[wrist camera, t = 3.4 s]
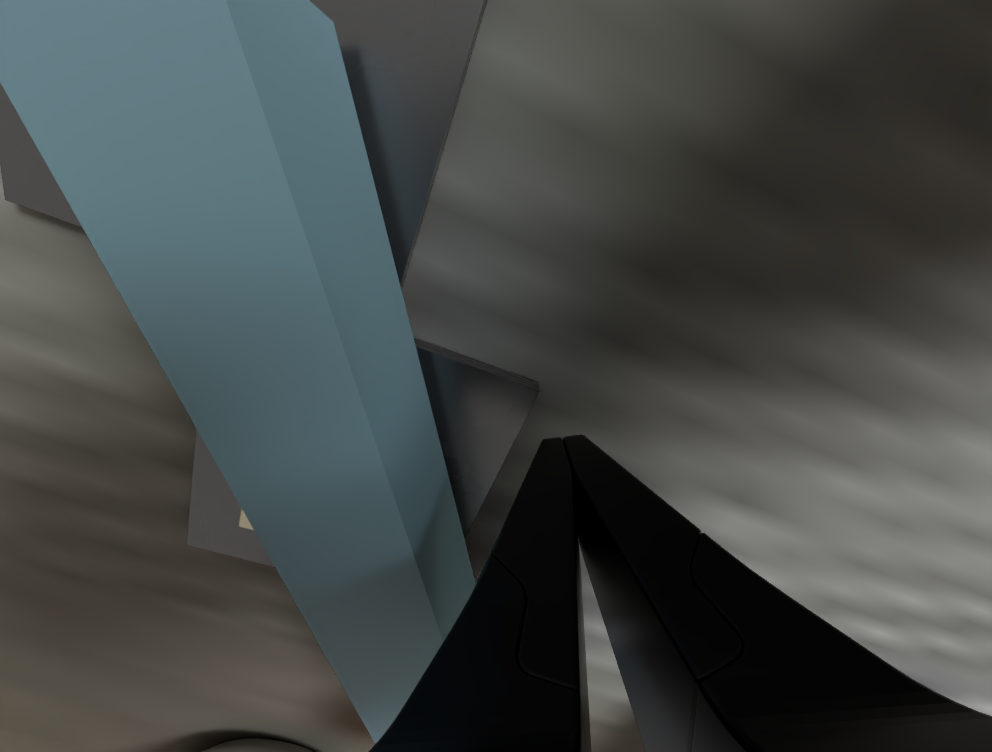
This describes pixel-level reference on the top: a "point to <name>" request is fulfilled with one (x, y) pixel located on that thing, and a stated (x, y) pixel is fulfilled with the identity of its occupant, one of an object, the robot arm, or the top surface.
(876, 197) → the top surface
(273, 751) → the soda can
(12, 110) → the label plate
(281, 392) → the swing bar
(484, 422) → the label plate
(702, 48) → the top surface
